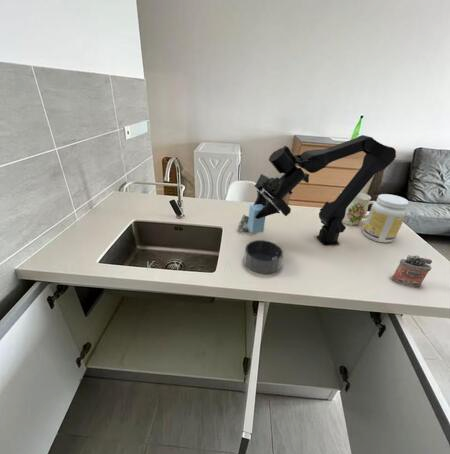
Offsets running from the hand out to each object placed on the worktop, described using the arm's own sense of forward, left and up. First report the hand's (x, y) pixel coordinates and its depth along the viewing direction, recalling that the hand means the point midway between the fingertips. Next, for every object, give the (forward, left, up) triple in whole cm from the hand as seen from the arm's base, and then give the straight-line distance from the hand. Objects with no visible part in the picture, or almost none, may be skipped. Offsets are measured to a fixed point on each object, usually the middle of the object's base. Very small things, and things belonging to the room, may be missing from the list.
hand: (253, 215), depth 85 cm
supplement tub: (-57, -4, -14) cm, 58 cm away
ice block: (-1, 0, -6) cm, 6 cm away
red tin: (-46, +24, -14) cm, 53 cm away
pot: (-2, +11, -13) cm, 17 cm away
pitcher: (-53, -17, -14) cm, 57 cm away
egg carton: (-3, -14, -14) cm, 20 cm away
